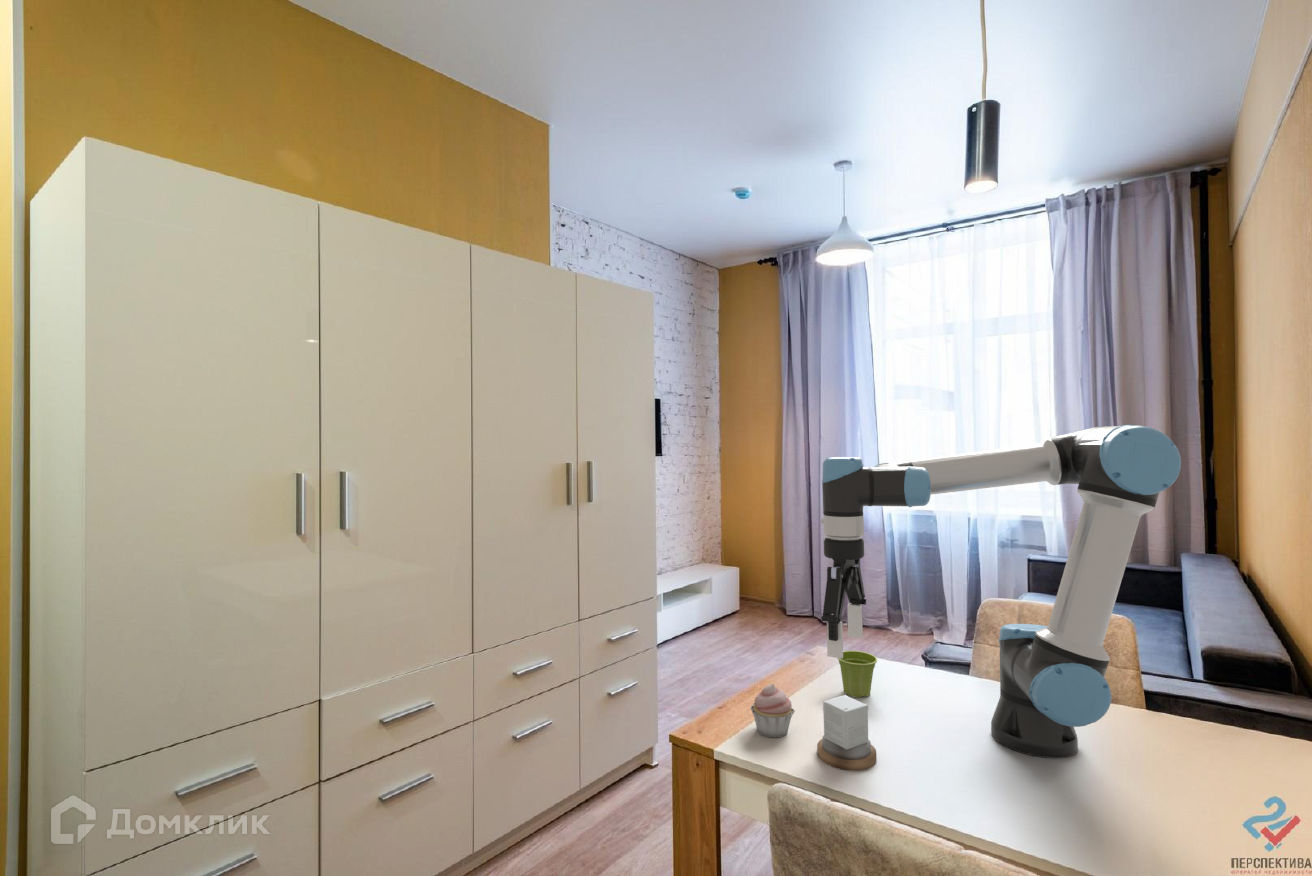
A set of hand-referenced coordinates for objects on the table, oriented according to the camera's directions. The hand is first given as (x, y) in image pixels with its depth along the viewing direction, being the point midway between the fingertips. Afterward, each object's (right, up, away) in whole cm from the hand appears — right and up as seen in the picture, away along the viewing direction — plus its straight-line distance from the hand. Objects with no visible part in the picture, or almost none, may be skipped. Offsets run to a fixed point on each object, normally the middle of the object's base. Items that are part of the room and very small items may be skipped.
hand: (845, 646), depth 126 cm
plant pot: (+12, -21, +31) cm, 39 cm away
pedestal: (0, -21, 0) cm, 21 cm away
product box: (0, -18, 0) cm, 18 cm away
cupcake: (-12, -22, +11) cm, 27 cm away
